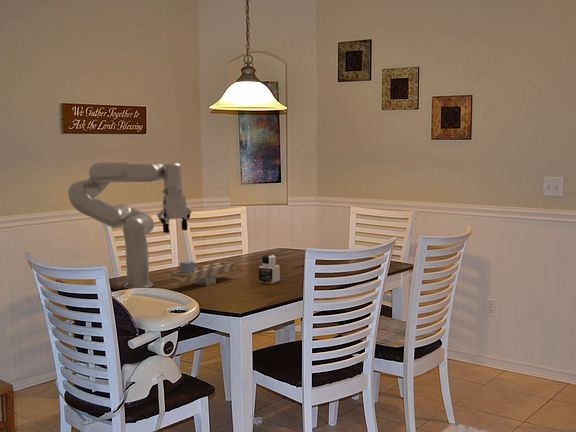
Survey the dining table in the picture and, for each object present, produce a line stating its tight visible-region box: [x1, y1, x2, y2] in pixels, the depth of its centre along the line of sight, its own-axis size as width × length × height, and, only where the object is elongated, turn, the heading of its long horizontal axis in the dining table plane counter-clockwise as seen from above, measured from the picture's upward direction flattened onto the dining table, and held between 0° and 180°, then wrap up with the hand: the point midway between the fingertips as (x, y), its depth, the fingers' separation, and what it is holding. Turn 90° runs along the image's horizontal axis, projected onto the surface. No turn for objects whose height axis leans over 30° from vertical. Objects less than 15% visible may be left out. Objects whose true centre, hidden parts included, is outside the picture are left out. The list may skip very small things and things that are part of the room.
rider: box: [179, 260, 196, 274], centre depth 310 cm, size 4×4×5 cm
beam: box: [170, 261, 237, 283], centre depth 318 cm, size 32×8×4 cm, turn 141°
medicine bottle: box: [258, 254, 281, 284], centre depth 320 cm, size 7×7×12 cm
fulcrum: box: [193, 275, 217, 287], centre depth 318 cm, size 6×8×4 cm
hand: (175, 231), depth 307 cm, fingers open, 9 cm apart
